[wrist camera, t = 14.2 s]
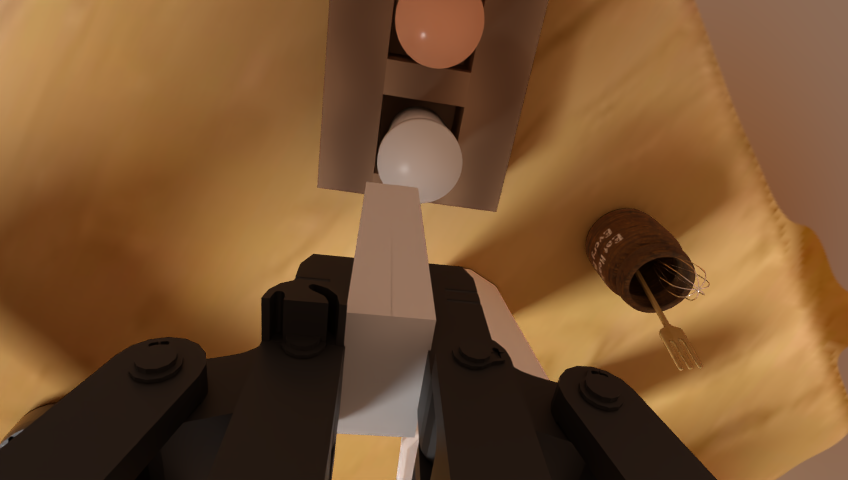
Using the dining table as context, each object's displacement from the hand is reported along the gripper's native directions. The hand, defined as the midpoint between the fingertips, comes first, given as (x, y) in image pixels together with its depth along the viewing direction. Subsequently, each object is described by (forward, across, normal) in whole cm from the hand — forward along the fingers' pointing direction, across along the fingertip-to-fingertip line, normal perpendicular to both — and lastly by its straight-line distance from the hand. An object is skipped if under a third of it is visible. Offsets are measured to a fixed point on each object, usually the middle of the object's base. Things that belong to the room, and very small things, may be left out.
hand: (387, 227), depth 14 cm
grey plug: (+18, +2, -1) cm, 18 cm away
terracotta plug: (+20, +2, +6) cm, 21 cm away
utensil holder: (+22, +20, -9) cm, 31 cm away
